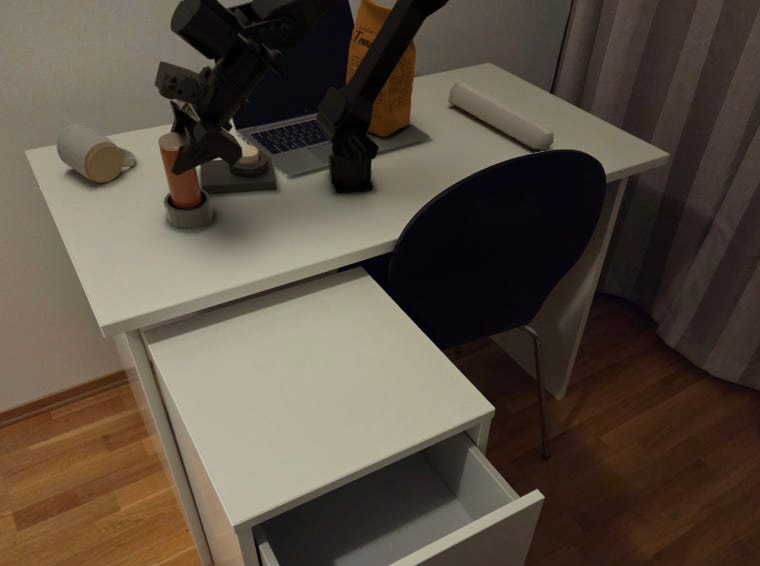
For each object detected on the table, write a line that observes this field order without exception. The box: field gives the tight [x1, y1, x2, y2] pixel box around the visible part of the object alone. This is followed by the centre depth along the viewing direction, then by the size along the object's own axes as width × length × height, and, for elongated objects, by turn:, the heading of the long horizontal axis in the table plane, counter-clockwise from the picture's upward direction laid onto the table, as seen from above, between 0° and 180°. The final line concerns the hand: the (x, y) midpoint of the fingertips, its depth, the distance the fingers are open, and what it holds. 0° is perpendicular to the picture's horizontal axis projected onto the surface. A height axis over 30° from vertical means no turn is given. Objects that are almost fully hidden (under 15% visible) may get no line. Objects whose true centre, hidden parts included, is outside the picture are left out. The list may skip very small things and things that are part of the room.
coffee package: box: [345, 0, 417, 138], centre depth 118 cm, size 10×12×22 cm
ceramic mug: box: [56, 122, 136, 184], centre depth 105 cm, size 11×8×8 cm
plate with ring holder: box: [199, 149, 277, 195], centre depth 107 cm, size 12×8×4 cm
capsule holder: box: [163, 188, 214, 230], centre depth 99 cm, size 7×7×4 cm
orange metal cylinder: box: [157, 132, 202, 208], centre depth 94 cm, size 4×4×10 cm
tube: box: [447, 79, 555, 153], centre depth 126 cm, size 5×5×25 cm
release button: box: [238, 145, 259, 165], centre depth 107 cm, size 4×4×2 cm
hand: (169, 165), depth 93 cm, fingers closed on orange metal cylinder, 4 cm apart
